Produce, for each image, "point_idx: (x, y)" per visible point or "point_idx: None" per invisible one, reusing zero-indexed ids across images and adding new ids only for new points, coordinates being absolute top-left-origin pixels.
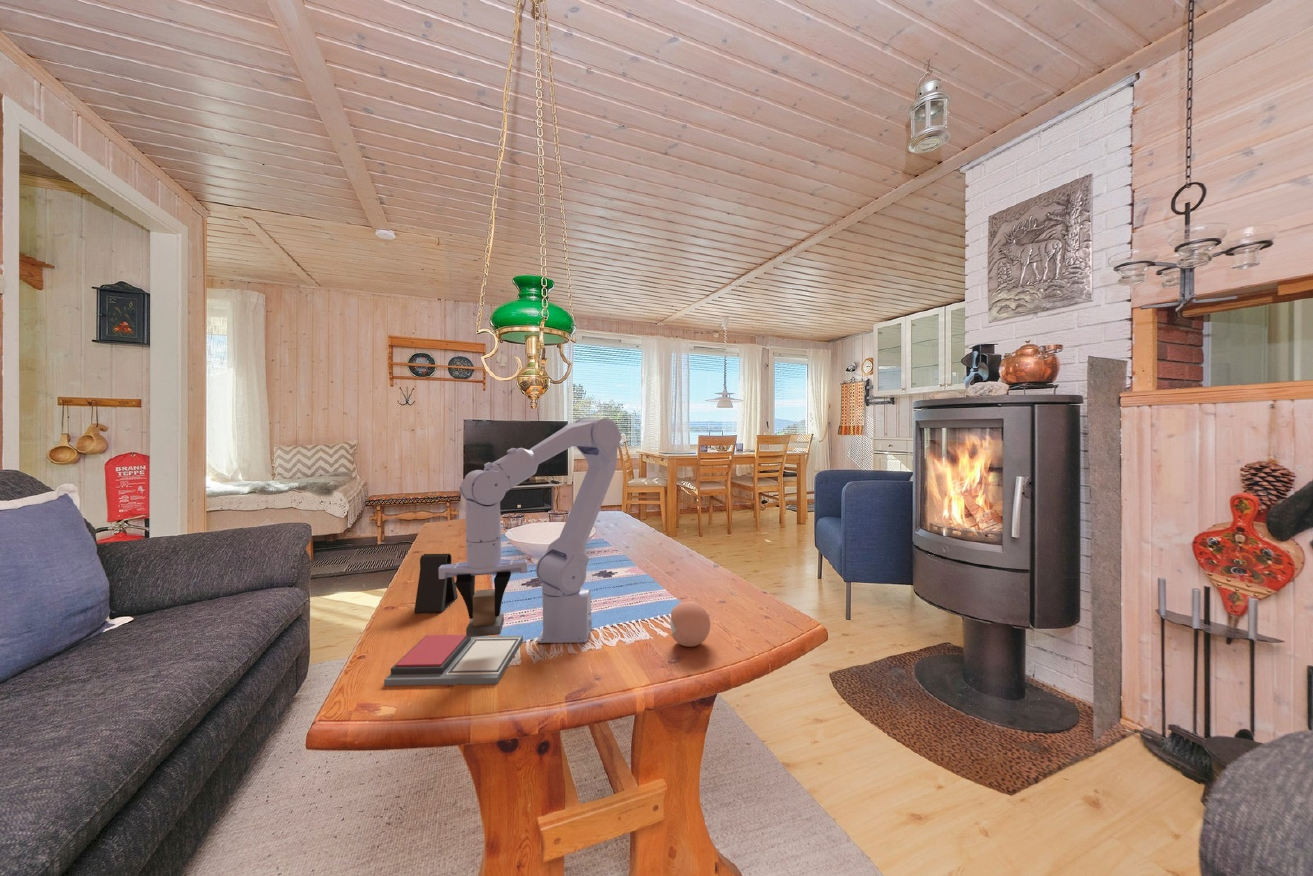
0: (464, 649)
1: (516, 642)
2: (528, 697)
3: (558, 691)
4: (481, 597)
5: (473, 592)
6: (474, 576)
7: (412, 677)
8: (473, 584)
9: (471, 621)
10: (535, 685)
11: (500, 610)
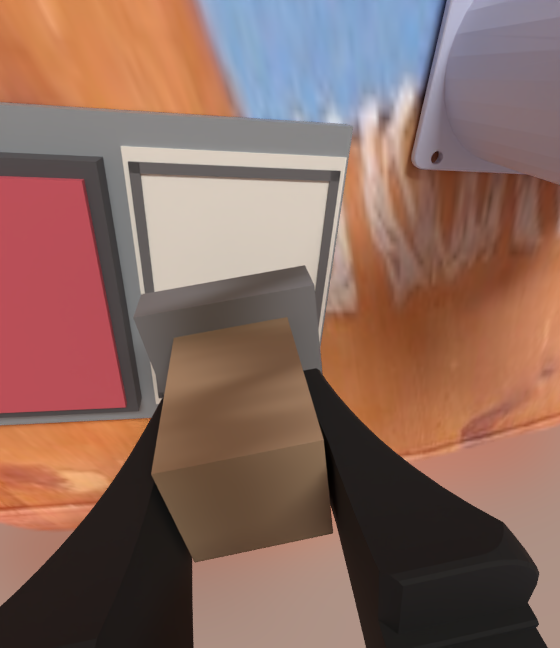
0: (125, 251)
1: (335, 211)
2: (387, 434)
3: (451, 415)
4: (251, 546)
5: (164, 529)
6: (122, 639)
7: (58, 415)
8: (155, 595)
9: (166, 376)
10: (401, 398)
11: (321, 374)
